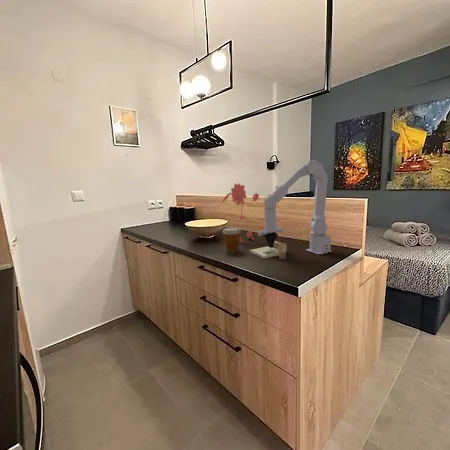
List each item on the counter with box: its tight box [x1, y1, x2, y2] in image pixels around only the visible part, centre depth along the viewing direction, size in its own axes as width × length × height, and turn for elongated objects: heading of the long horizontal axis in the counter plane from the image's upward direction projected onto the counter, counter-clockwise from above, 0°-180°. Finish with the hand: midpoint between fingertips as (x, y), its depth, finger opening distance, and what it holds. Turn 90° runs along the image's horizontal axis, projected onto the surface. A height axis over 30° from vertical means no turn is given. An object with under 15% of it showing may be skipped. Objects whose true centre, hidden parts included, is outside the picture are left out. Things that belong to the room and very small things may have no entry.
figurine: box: [221, 183, 260, 244], centre depth 153 cm, size 15×26×35 cm, turn 128°
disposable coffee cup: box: [222, 226, 242, 254], centre depth 133 cm, size 10×10×12 cm
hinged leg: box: [273, 240, 287, 253], centre depth 130 cm, size 11×2×5 cm, turn 26°
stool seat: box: [249, 245, 279, 259], centre depth 126 cm, size 13×12×1 cm
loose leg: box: [278, 242, 287, 260], centre depth 117 cm, size 3×3×7 cm
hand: (271, 247), depth 128 cm, fingers closed
